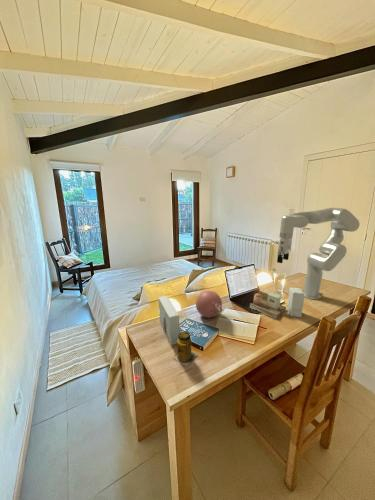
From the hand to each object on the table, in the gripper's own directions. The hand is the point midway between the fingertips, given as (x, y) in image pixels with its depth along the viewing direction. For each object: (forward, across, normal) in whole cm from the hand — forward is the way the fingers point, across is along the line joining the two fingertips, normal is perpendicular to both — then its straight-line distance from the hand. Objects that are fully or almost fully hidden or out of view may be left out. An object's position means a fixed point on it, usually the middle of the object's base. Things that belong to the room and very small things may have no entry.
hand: (282, 261), depth 138 cm
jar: (+26, -19, +6) cm, 33 cm away
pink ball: (+28, -50, +19) cm, 61 cm away
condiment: (+28, -82, +7) cm, 87 cm away
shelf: (+28, -16, 0) cm, 33 cm away
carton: (+26, -15, -3) cm, 30 cm away
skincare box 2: (+28, -10, -14) cm, 33 cm away
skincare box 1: (+28, -76, +26) cm, 85 cm away
